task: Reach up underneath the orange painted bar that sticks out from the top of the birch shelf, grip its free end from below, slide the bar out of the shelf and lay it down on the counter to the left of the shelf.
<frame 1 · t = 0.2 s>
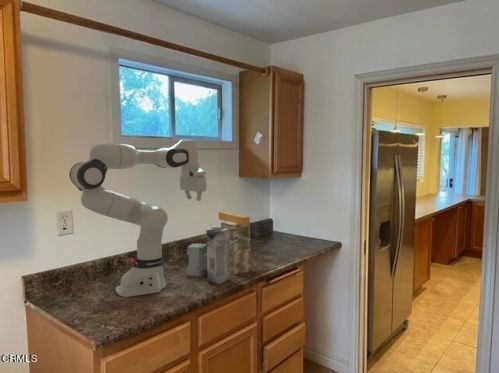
hand: (194, 199, 188), 39 cm above the counter, tool pointing down, fingers open, 8 cm apart
juice carton: (218, 281, 185), on the counter
baking soda box: (233, 252, 240), on the counter
circuit breaker: (203, 274, 195), on the counter
birch shelf: (235, 270, 201), on the counter
orange bar: (233, 221, 201), point 26 cm above the counter, touching birch shelf
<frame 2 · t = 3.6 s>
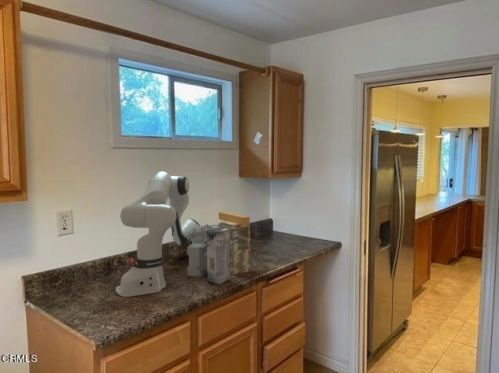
hand: (214, 224, 217), 22 cm above the counter, tool pointing upward, fingers open, 8 cm apart
nothing on the counter moved.
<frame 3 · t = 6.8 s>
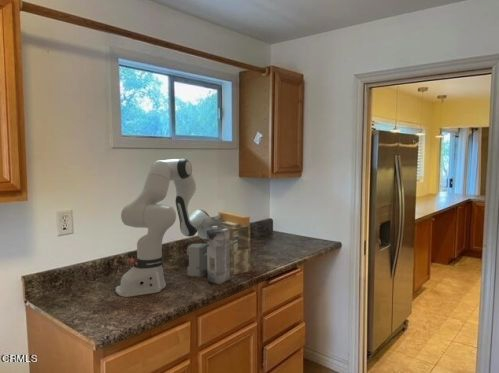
hand: (225, 215, 207), 29 cm above the counter, tool pointing upward, fingers closed on orange bar, 4 cm apart
orange bar: (233, 221, 201), point 26 cm above the counter, touching birch shelf, gripper
everything else where it was.
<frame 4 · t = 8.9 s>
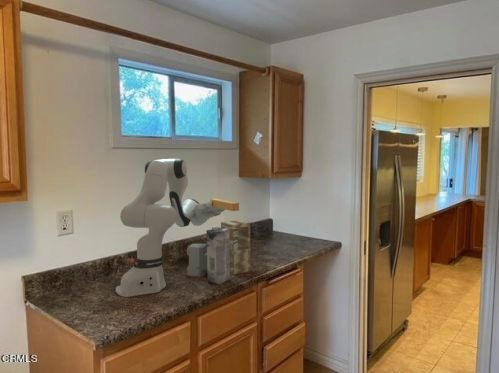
hand: (216, 201, 215), 35 cm above the counter, tool pointing upward, fingers closed on orange bar, 4 cm apart
orange bar: (223, 208, 208), point 32 cm above the counter, touching gripper
everything else where it was.
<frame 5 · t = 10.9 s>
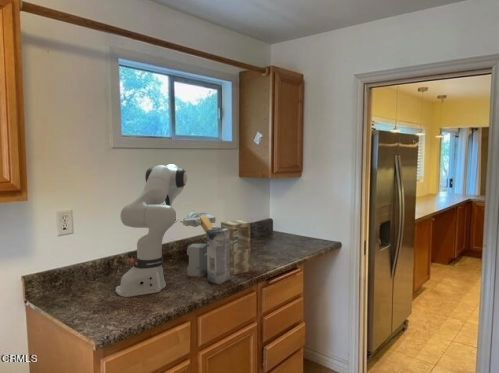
hand: (205, 222, 222), 22 cm above the counter, tool horizontal, fingers closed on orange bar, 4 cm apart
orange bar: (210, 234, 218), point 16 cm above the counter, tilted 30°, touching gripper
everything else where it was.
when the fingers open (5 cm above the counter, at t = 13.9 s): orange bar drops 2 cm, on the counter.
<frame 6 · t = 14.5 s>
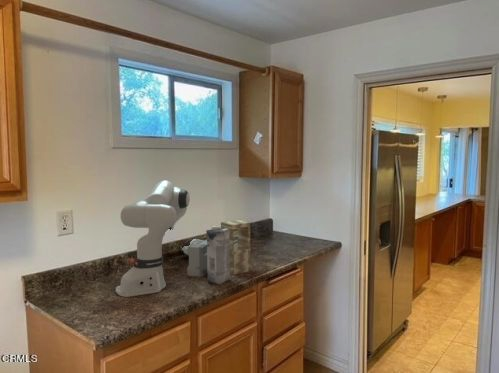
hand: (205, 250, 223), 5 cm above the counter, tool horizontal, fingers open, 8 cm apart
orange bar: (212, 262, 218), on the counter
everything else where it was.
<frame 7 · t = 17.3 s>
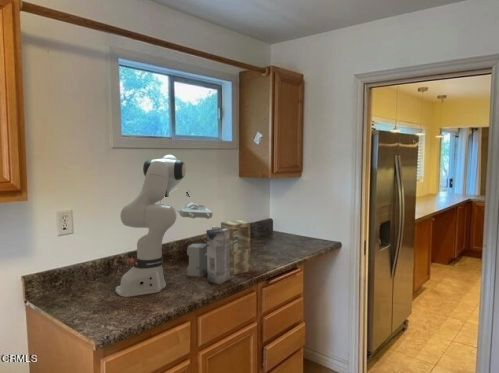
hand: (201, 217, 221), 25 cm above the counter, tool horizontal, fingers open, 8 cm apart
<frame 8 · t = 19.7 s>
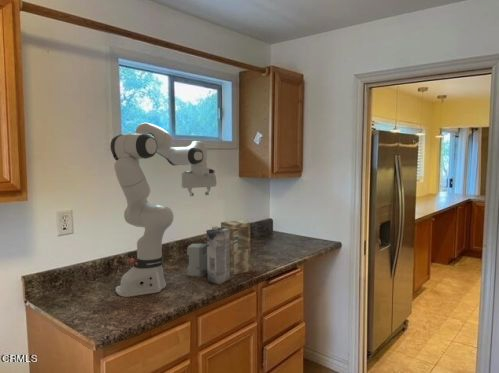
hand: (199, 195, 209), 39 cm above the counter, tool pointing down, fingers open, 8 cm apart
at the end: orange bar inside the target area (0.9 cm from its centre), on the counter; orange bar touching counter; the gripper is holding nothing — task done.
